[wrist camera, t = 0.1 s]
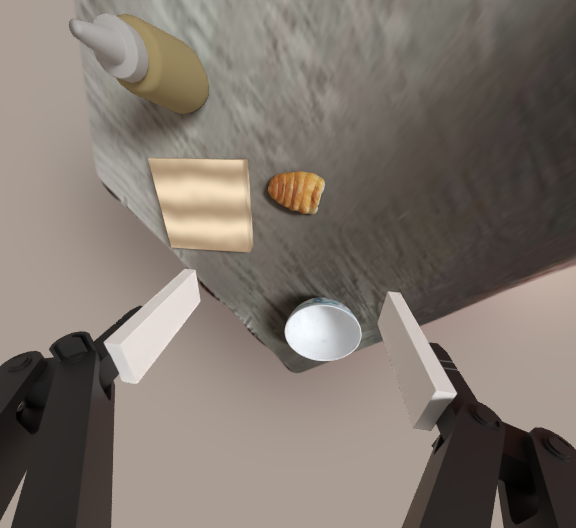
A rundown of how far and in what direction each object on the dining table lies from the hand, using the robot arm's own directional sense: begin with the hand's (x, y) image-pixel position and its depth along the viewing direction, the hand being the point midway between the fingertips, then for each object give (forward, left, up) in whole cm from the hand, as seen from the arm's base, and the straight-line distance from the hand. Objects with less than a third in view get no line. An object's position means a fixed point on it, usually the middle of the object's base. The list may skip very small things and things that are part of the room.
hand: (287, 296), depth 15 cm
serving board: (+1, -18, -28) cm, 33 cm away
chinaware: (+24, +5, -28) cm, 37 cm away
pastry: (-2, -1, -28) cm, 28 cm away
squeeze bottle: (-17, -18, -28) cm, 38 cm away
